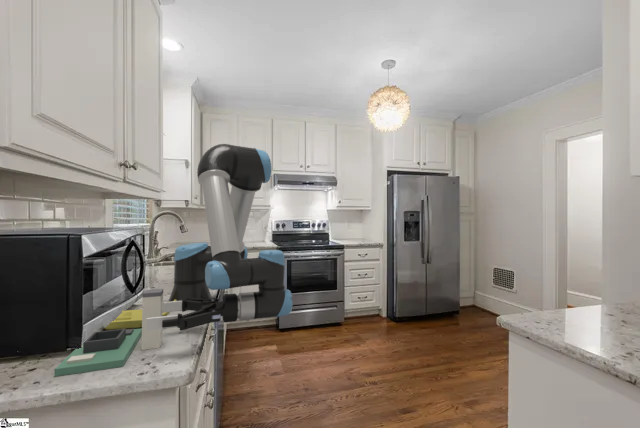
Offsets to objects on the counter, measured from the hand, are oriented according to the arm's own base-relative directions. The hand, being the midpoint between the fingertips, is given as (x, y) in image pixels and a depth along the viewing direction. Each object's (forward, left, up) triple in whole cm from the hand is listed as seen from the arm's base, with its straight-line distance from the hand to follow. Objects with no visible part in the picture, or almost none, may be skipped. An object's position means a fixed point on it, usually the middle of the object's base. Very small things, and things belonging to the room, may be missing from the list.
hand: (151, 315), depth 74 cm
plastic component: (-19, -6, -8) cm, 22 cm away
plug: (-1, 0, -8) cm, 8 cm away
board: (-1, -10, -8) cm, 13 cm away
